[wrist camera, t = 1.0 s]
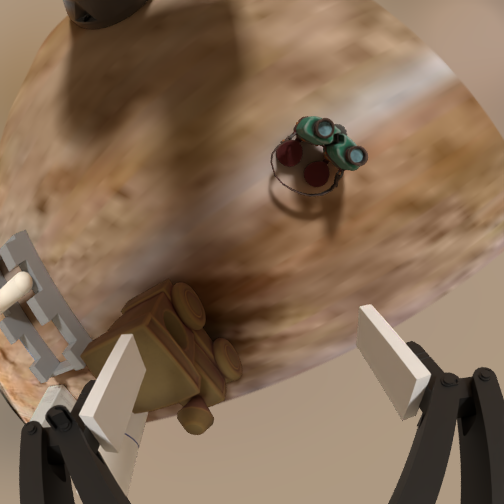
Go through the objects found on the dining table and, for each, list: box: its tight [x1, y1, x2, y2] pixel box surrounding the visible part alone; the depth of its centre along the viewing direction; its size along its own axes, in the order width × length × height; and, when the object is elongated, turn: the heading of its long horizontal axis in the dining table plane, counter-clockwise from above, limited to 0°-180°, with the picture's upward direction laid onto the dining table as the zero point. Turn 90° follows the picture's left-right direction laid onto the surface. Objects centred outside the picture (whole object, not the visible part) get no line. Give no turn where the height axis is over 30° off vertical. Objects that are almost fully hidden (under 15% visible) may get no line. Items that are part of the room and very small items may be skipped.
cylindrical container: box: [76, 412, 148, 497], centre depth 34 cm, size 7×7×25 cm
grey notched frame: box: [0, 230, 93, 383], centre depth 37 cm, size 25×15×6 cm, turn 26°
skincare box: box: [30, 385, 77, 428], centre depth 40 cm, size 8×6×15 cm
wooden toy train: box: [80, 279, 242, 435], centre depth 35 cm, size 20×11×17 cm, turn 28°
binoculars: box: [271, 116, 368, 196], centre depth 32 cm, size 9×11×10 cm
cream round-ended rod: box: [0, 271, 33, 315], centre depth 34 cm, size 4×14×4 cm, turn 116°
